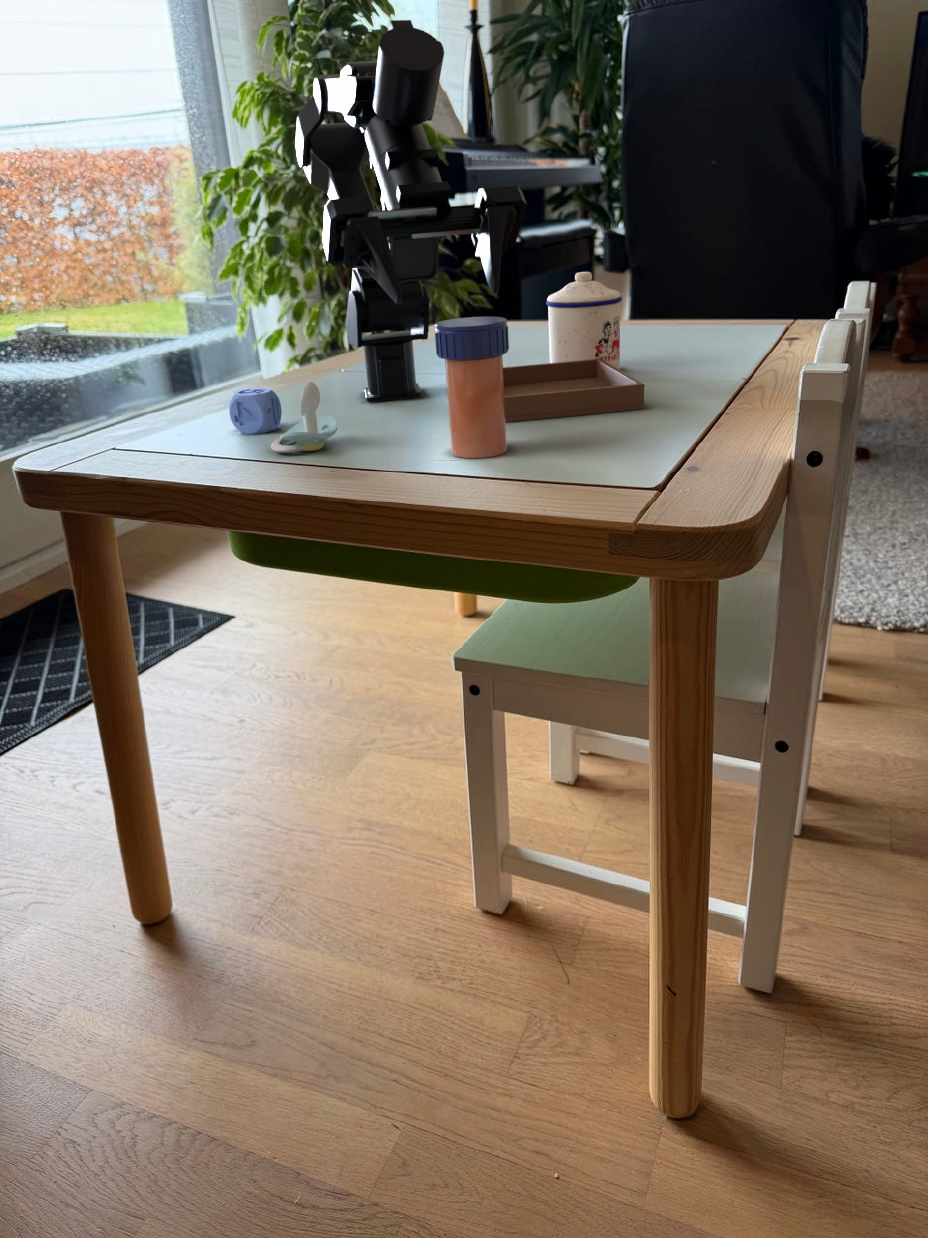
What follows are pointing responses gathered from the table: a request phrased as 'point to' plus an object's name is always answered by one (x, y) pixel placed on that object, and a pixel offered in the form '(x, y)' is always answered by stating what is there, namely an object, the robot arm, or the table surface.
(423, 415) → the table surface
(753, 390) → the table surface
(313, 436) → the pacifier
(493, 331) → the lid
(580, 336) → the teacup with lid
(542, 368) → the tray
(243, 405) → the decorative dice
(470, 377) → the jar
